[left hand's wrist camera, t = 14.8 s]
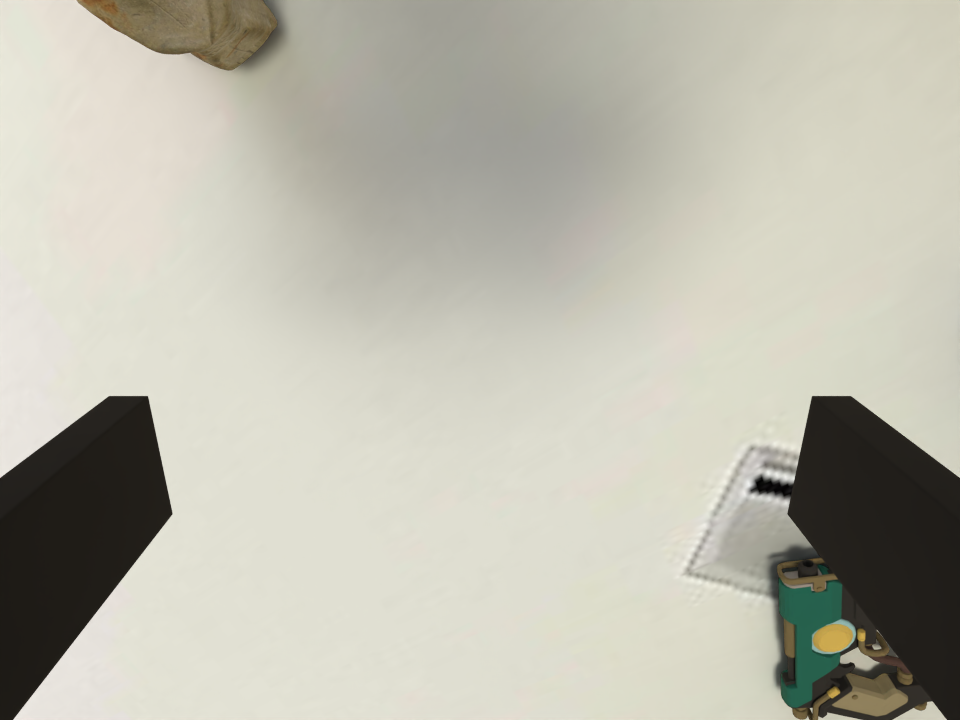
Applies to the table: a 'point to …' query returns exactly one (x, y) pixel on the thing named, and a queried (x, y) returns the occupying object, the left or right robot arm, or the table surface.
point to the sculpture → (191, 26)
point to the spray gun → (835, 651)
